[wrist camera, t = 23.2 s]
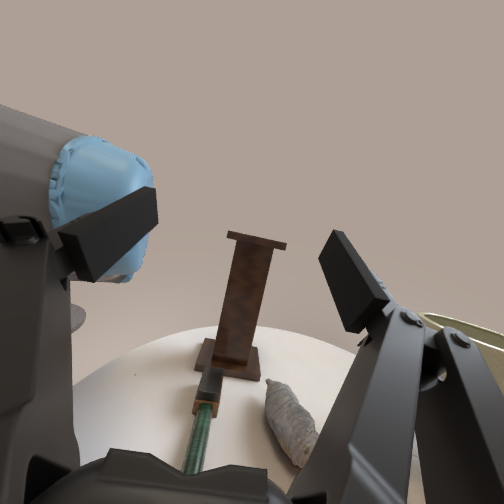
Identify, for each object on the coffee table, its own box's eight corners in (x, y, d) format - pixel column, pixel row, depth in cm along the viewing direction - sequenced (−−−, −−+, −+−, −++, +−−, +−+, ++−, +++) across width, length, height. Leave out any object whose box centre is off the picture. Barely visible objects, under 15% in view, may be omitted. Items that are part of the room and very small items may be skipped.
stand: (194, 370, 39) (223, 229, 37) (204, 343, 49) (227, 230, 47) (259, 381, 40) (291, 244, 38) (256, 352, 50) (281, 242, 48)
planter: (359, 419, 36) (392, 305, 34) (425, 422, 39) (459, 317, 37) (456, 554, 21) (524, 364, 19) (553, 543, 24) (620, 377, 22)
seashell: (282, 378, 38) (292, 355, 34) (320, 477, 27) (341, 460, 23) (253, 385, 36) (260, 362, 32) (281, 495, 25) (296, 480, 21)
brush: (189, 593, 16) (198, 552, 15) (140, 589, 15) (149, 547, 15) (220, 387, 36) (224, 368, 36) (200, 384, 36) (204, 365, 36)
